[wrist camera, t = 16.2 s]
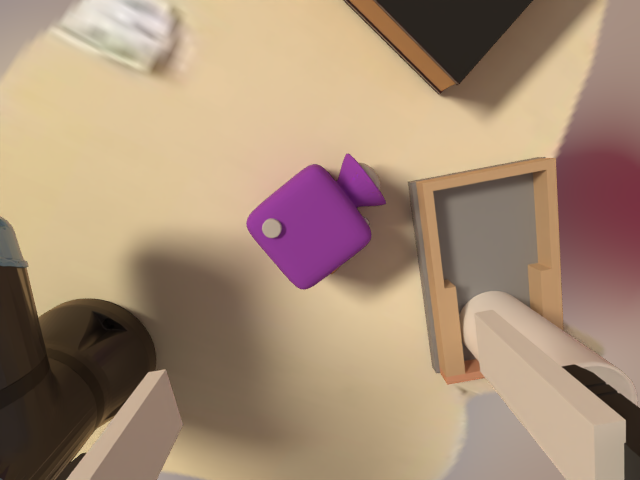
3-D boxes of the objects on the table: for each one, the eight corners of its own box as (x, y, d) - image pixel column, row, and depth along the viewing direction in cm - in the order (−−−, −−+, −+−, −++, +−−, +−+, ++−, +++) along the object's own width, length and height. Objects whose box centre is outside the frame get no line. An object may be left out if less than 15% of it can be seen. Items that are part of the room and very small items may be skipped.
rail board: (432, 366, 48) (443, 385, 44) (407, 181, 42) (417, 184, 39) (547, 345, 47) (569, 362, 43) (537, 157, 42) (560, 157, 38)
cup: (445, 338, 45) (516, 434, 30) (478, 280, 44) (571, 348, 28) (502, 362, 46) (601, 467, 30) (537, 306, 44) (659, 386, 29)
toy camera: (393, 192, 43) (417, 202, 33) (316, 278, 45) (318, 312, 35) (322, 129, 41) (326, 120, 31) (246, 221, 43) (227, 240, 33)
